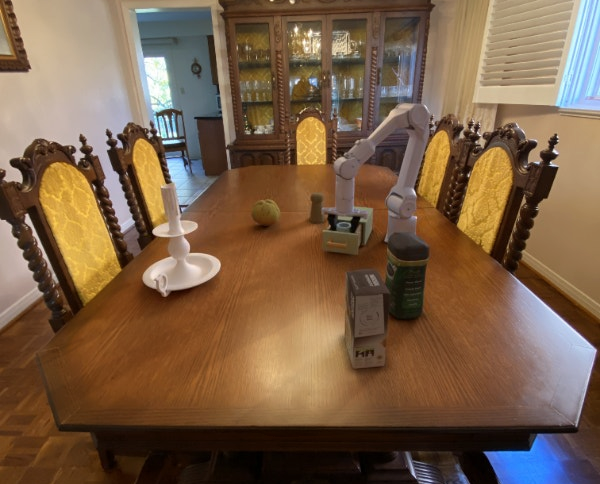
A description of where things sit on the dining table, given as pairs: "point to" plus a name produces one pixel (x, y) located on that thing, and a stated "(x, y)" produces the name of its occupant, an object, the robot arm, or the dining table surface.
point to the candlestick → (178, 252)
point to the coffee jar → (406, 274)
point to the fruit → (265, 212)
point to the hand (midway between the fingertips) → (343, 237)
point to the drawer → (342, 240)
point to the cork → (316, 208)
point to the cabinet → (366, 223)
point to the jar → (343, 227)
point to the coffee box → (366, 318)
